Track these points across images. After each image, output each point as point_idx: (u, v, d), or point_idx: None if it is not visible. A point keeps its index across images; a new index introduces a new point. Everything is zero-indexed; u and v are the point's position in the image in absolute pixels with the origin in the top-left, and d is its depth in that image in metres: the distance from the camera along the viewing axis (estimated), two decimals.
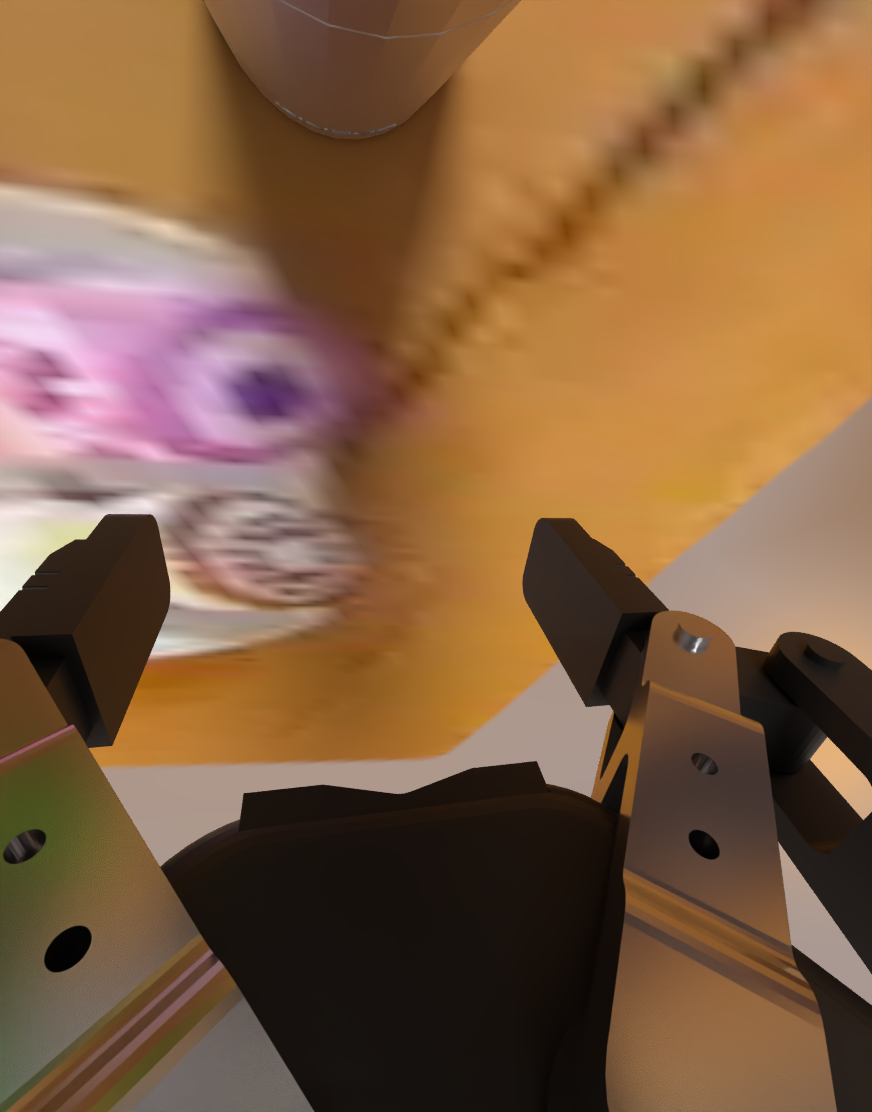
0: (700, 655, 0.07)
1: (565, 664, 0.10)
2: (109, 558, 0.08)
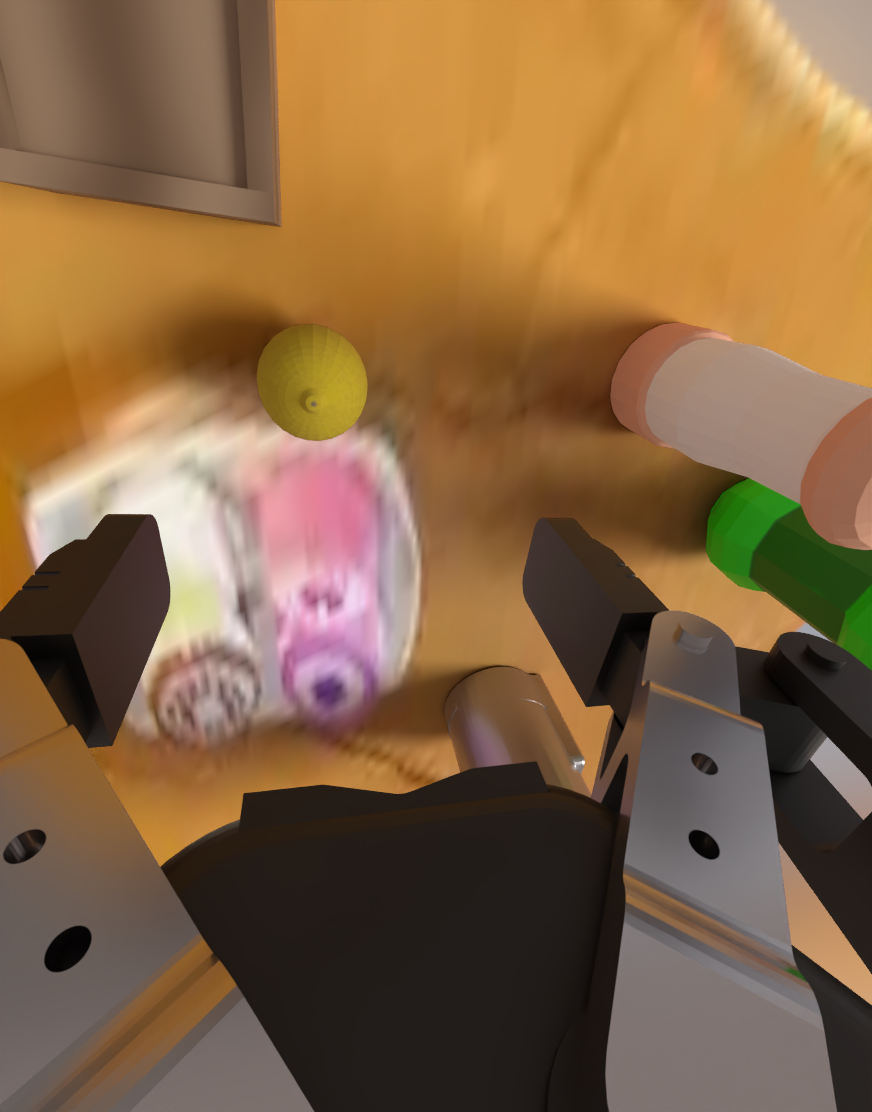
0: (700, 655, 0.07)
1: (565, 664, 0.10)
2: (109, 558, 0.08)
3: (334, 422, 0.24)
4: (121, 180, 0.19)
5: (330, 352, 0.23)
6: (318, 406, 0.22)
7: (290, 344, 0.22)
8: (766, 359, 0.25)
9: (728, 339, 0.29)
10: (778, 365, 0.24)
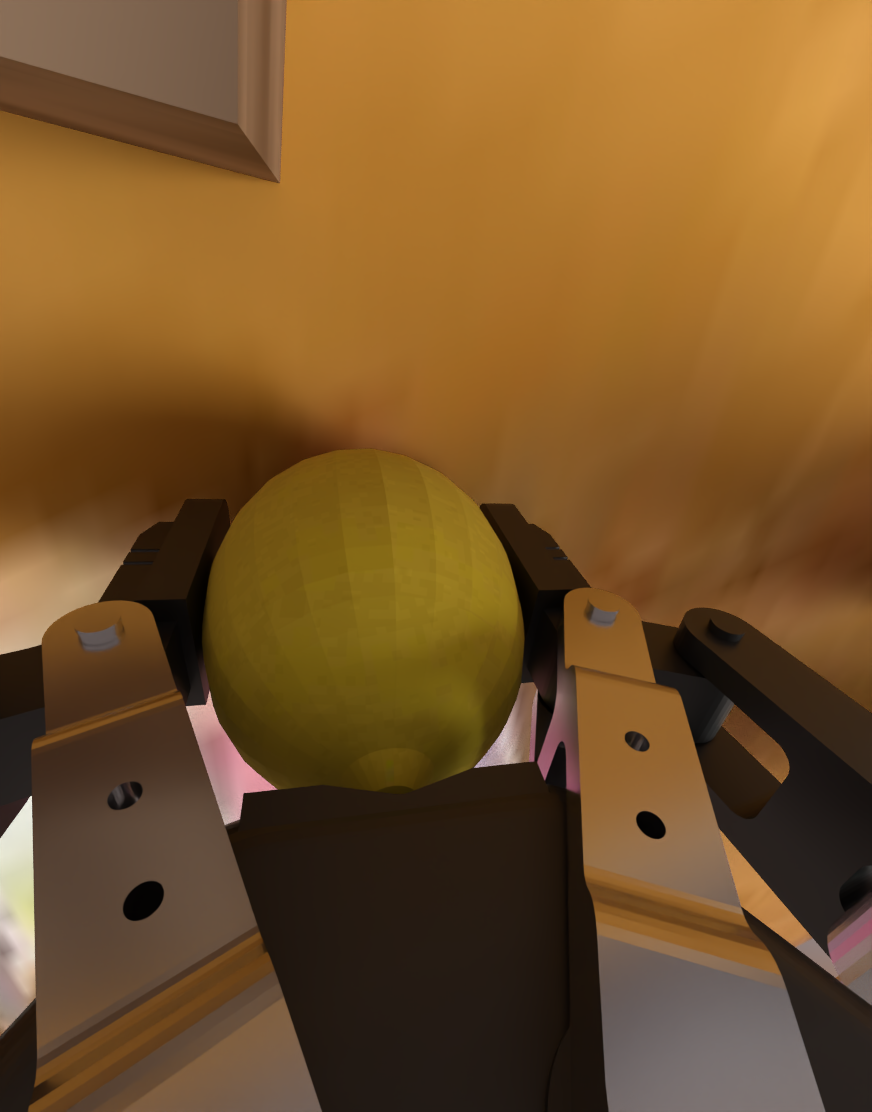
0: (604, 627, 0.07)
1: None
2: (199, 536, 0.09)
3: None
4: None
5: (452, 599, 0.06)
6: None
7: (314, 571, 0.06)
8: None
9: None
10: None
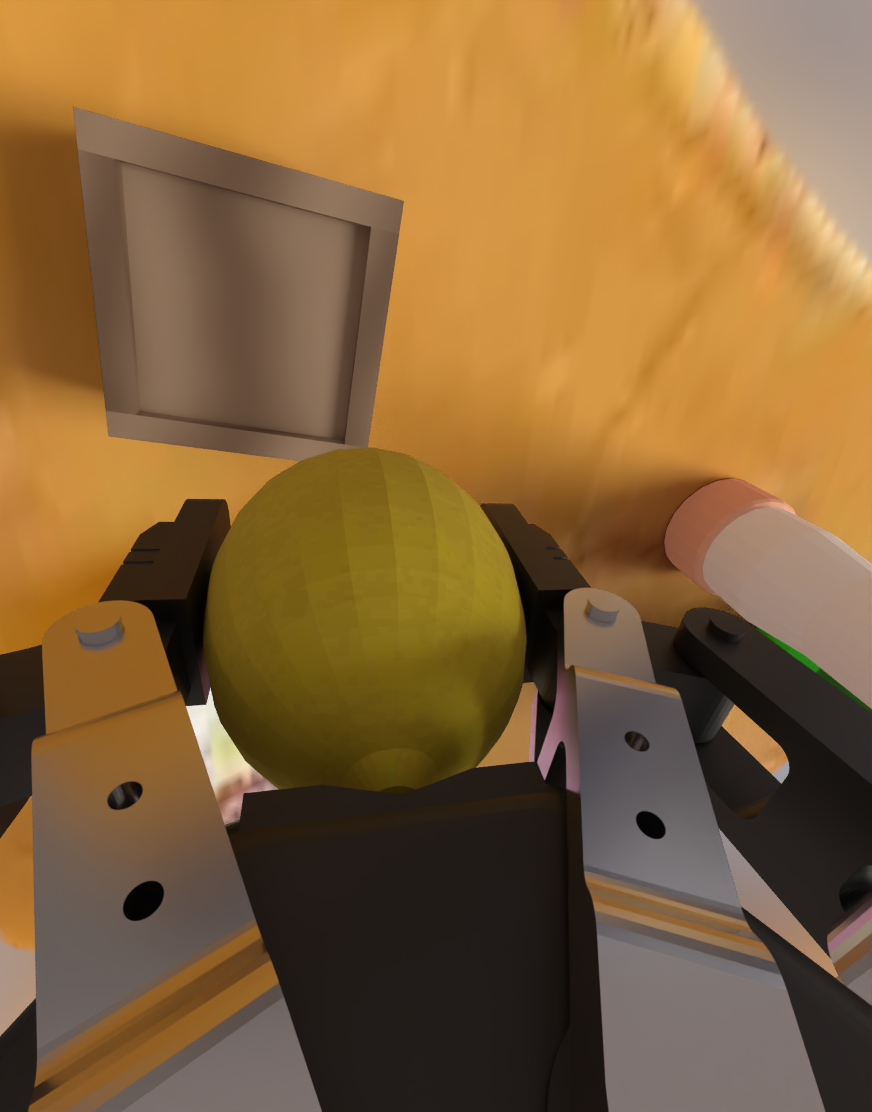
0: (604, 627, 0.07)
1: None
2: (199, 536, 0.09)
3: None
4: (230, 437, 0.20)
5: (455, 599, 0.06)
6: None
7: (314, 571, 0.06)
8: (831, 554, 0.26)
9: (785, 506, 0.30)
10: (845, 564, 0.25)
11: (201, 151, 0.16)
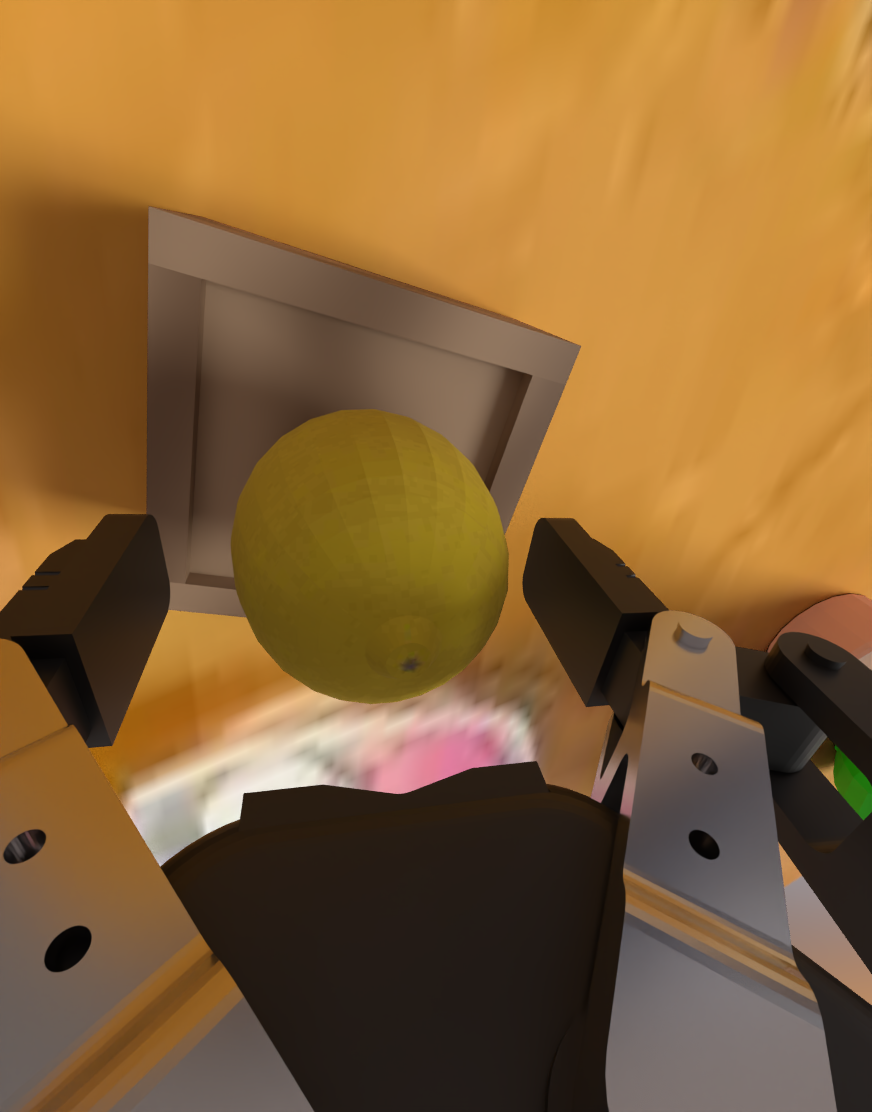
0: (700, 655, 0.07)
1: (564, 664, 0.10)
2: (109, 558, 0.08)
3: (446, 678, 0.09)
4: None
5: (451, 501, 0.08)
6: (423, 669, 0.07)
7: (337, 479, 0.08)
8: None
9: None
10: None
11: (325, 274, 0.11)
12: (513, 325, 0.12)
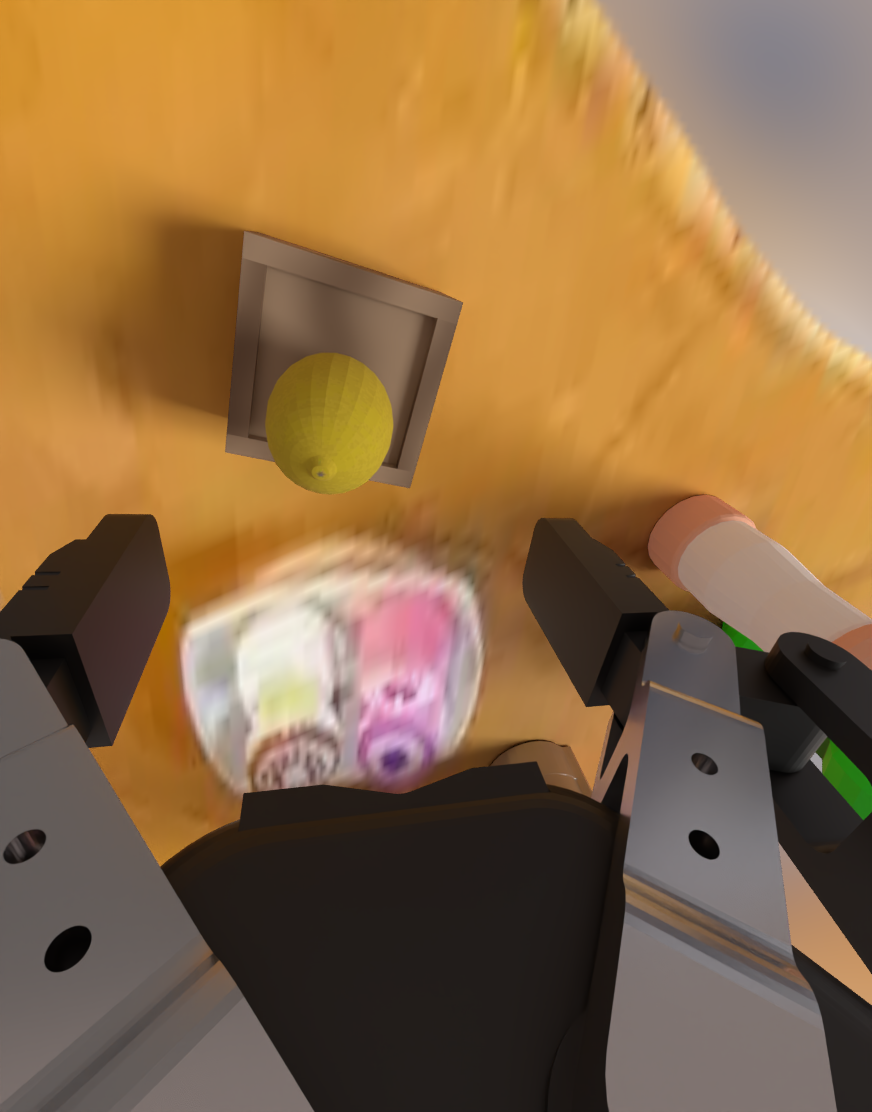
0: (700, 655, 0.07)
1: (565, 663, 0.10)
2: (109, 558, 0.08)
3: (346, 485, 0.21)
4: None
5: (345, 410, 0.19)
6: (326, 476, 0.19)
7: (299, 397, 0.19)
8: (776, 561, 0.32)
9: (746, 520, 0.37)
10: (786, 570, 0.32)
11: (326, 263, 0.22)
12: (424, 290, 0.23)
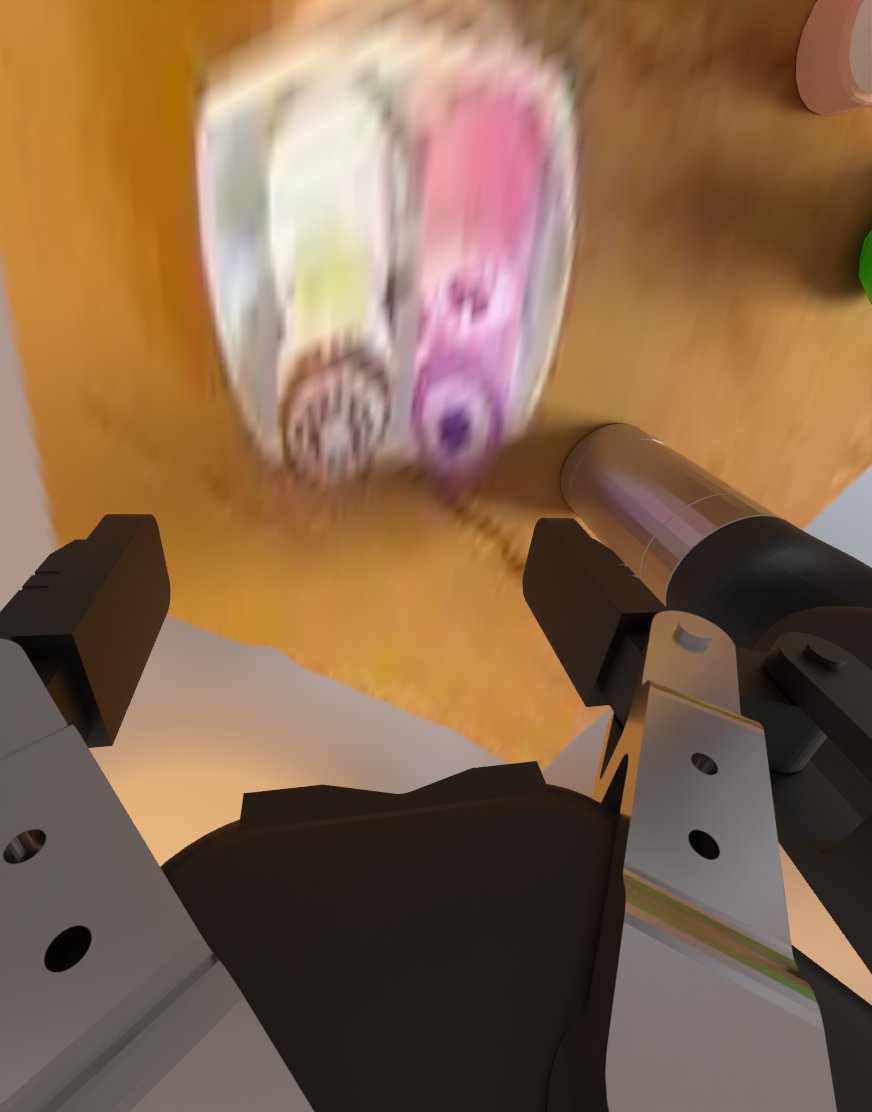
0: (700, 655, 0.07)
1: (565, 664, 0.10)
2: (109, 558, 0.08)
3: None
4: None
5: None
6: None
7: None
8: None
9: None
10: None
11: None
12: None
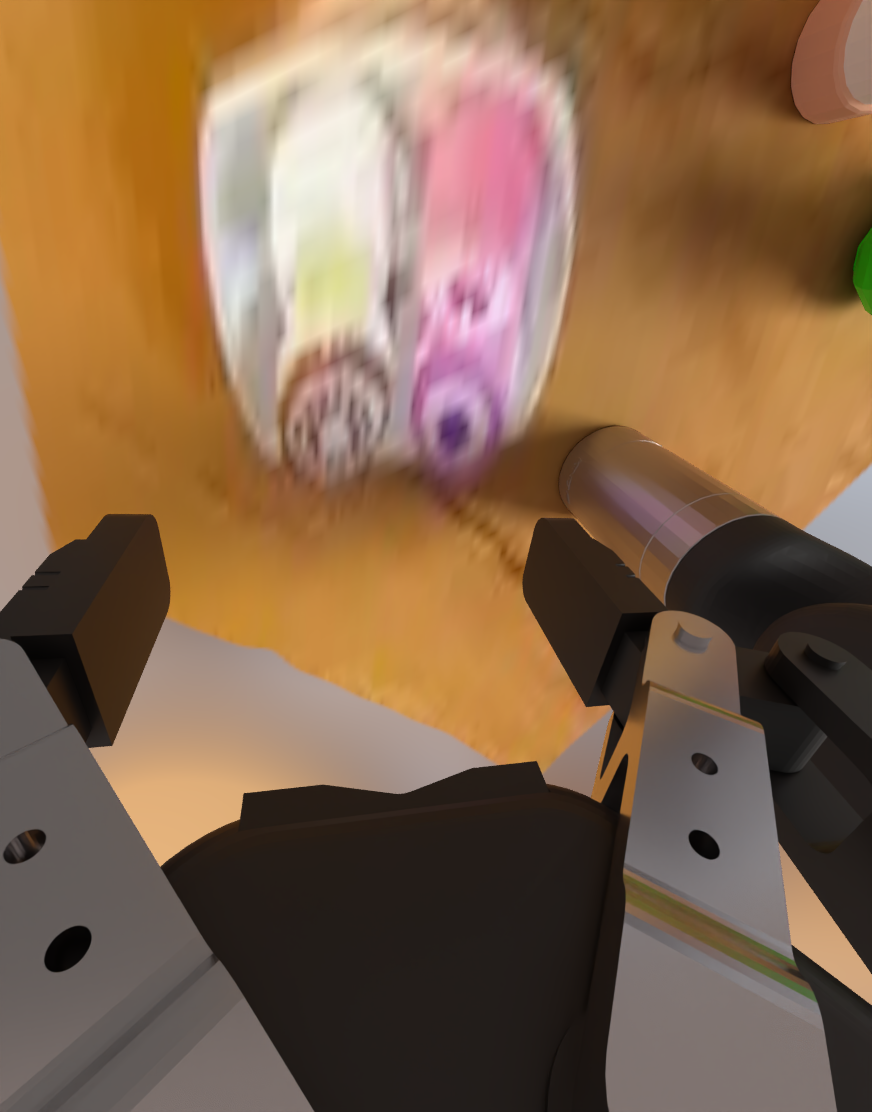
0: (700, 655, 0.07)
1: (565, 664, 0.10)
2: (109, 558, 0.08)
3: None
4: None
5: None
6: None
7: None
8: None
9: None
10: None
11: None
12: None
